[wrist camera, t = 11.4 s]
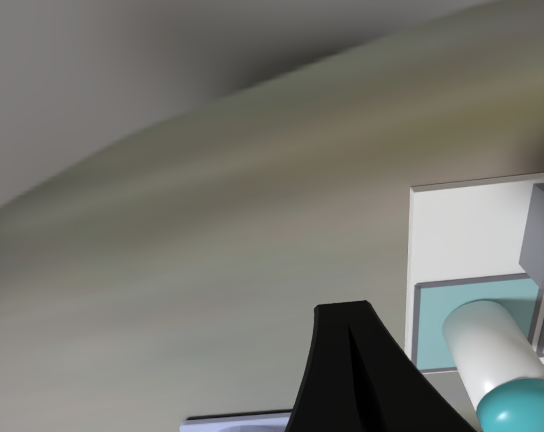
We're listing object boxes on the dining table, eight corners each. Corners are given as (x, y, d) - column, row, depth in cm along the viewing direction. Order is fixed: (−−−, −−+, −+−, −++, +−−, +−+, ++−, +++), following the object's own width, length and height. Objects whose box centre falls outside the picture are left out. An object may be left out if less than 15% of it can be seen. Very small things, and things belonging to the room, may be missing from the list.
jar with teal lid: (512, 341, 23) (578, 448, 18) (445, 355, 24) (490, 462, 19) (510, 292, 22) (582, 396, 17) (436, 309, 22) (484, 414, 17)
